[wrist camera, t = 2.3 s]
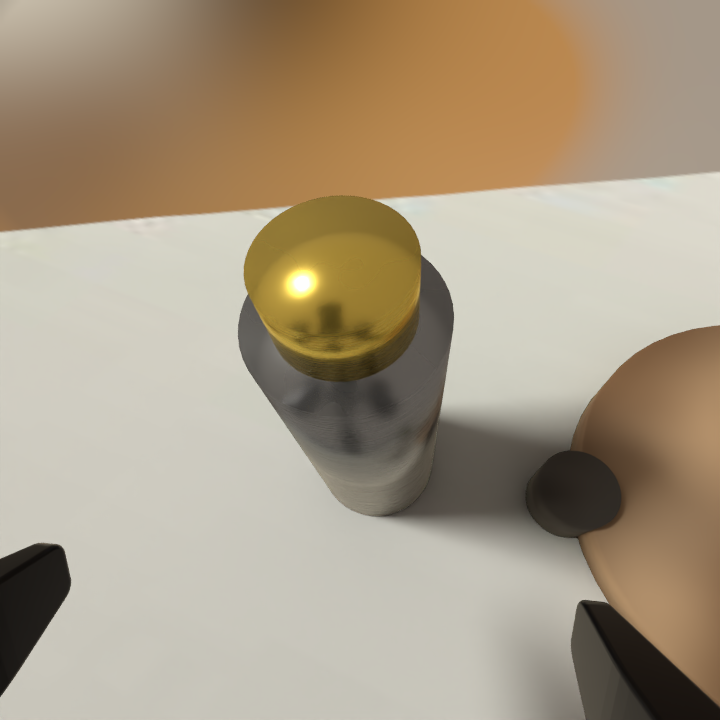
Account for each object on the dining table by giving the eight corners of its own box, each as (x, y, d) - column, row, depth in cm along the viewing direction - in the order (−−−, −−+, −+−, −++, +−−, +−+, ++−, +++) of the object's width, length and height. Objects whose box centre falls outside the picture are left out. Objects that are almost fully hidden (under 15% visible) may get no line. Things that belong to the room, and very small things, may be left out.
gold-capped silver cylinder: (452, 443, 21) (509, 221, 9) (393, 540, 19) (364, 426, 7) (362, 390, 23) (309, 145, 11) (300, 474, 21) (152, 295, 9)
